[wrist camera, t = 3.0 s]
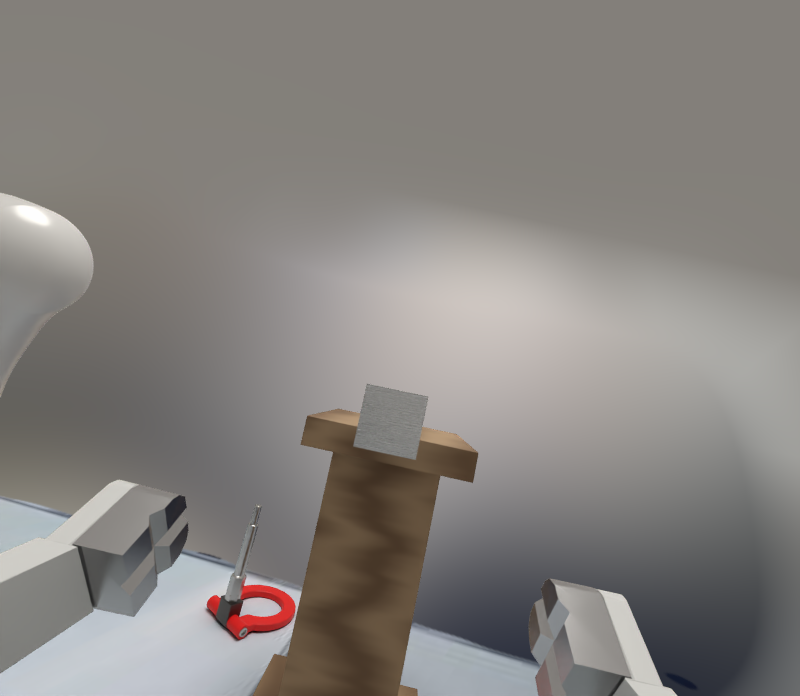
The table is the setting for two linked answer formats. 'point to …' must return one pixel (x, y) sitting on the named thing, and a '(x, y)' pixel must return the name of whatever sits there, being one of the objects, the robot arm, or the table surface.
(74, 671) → the table surface
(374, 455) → the walnut stand
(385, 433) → the metal block
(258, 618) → the tow hook
